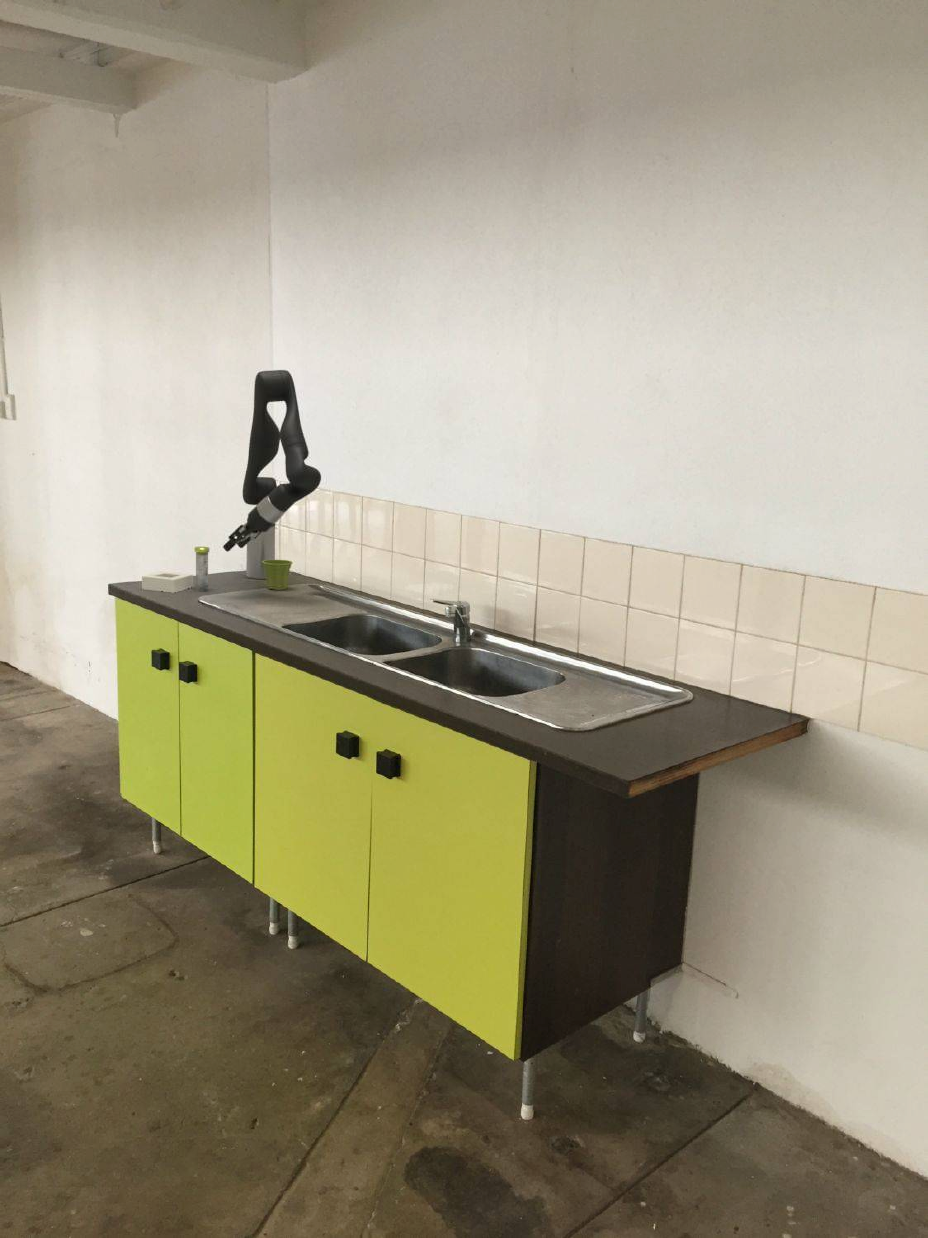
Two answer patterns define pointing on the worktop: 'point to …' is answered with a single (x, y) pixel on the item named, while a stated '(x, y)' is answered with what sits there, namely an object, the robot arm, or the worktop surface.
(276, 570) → the plant pot
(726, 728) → the worktop surface
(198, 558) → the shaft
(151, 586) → the white square base
